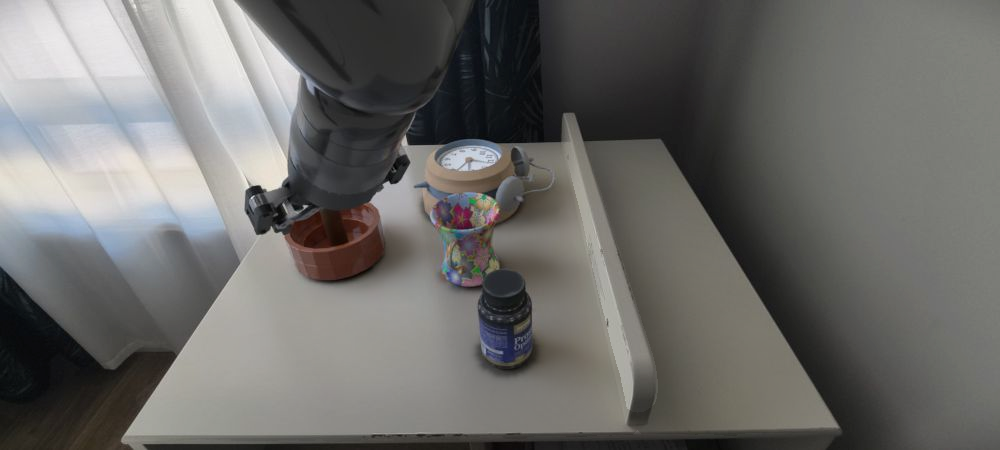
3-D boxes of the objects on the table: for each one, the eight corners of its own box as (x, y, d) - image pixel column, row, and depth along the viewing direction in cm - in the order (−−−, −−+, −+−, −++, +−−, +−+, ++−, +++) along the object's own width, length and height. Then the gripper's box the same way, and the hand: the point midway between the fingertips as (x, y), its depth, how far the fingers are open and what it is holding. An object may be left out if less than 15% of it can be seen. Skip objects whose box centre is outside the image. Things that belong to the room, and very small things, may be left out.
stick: (336, 258, 74) (315, 190, 67) (329, 249, 76) (308, 182, 69) (353, 250, 75) (335, 183, 68) (346, 242, 77) (327, 175, 70)
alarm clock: (432, 130, 89) (559, 135, 86) (438, 174, 95) (558, 181, 91) (401, 177, 76) (550, 185, 72) (410, 225, 81) (549, 235, 77)
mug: (451, 247, 76) (444, 189, 70) (509, 255, 74) (507, 195, 68) (422, 301, 67) (411, 239, 60) (488, 311, 64) (483, 248, 58)
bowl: (315, 298, 68) (303, 265, 64) (284, 251, 77) (272, 220, 73) (402, 257, 74) (395, 225, 71) (363, 219, 83) (356, 188, 80)
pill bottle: (524, 376, 56) (522, 307, 49) (474, 364, 58) (466, 296, 51) (538, 337, 61) (538, 269, 54) (491, 326, 62) (486, 259, 56)
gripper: (405, 79, 40) (370, 156, 54) (220, 128, 33) (235, 202, 47) (447, 159, 40) (400, 216, 54) (268, 226, 33) (269, 271, 47)
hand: (323, 209), depth 51 cm, fingers open, 8 cm apart
